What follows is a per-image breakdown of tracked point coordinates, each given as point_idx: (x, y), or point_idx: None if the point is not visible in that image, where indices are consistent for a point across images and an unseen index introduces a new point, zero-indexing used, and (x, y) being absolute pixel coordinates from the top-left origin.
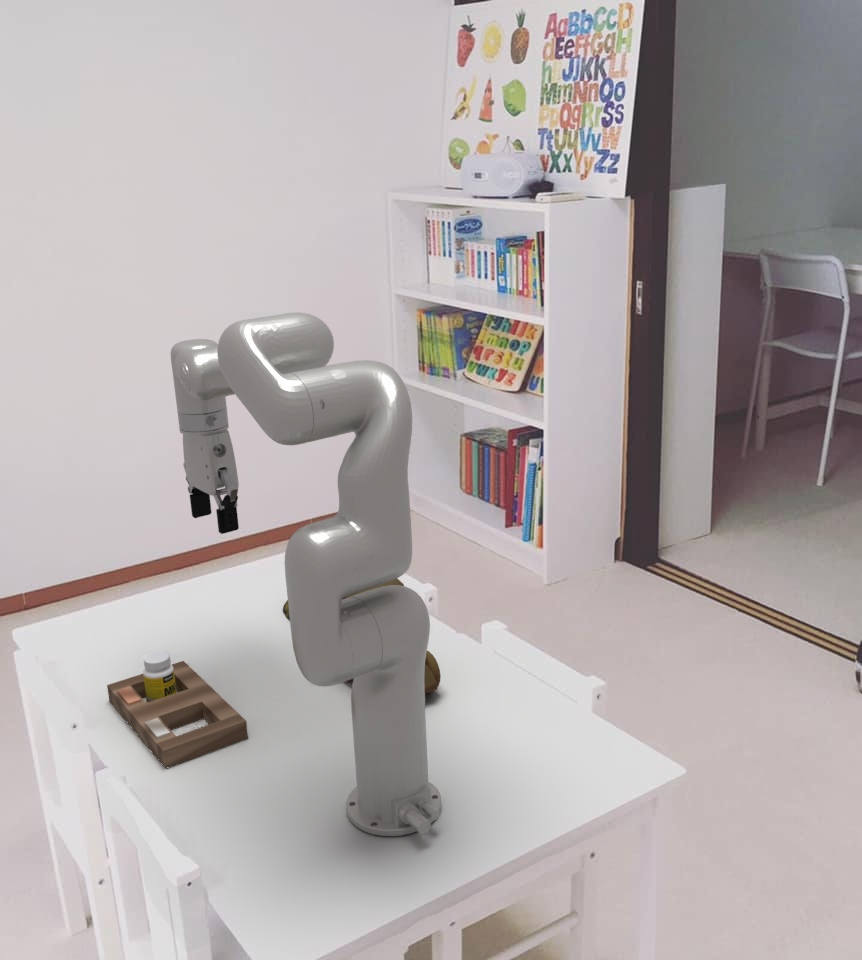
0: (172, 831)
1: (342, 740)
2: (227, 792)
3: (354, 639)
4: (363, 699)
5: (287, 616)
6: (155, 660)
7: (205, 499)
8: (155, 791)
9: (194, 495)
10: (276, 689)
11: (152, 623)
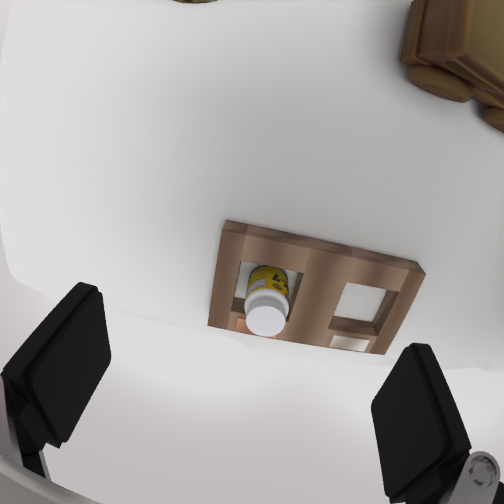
0: None
1: (498, 201)
2: (450, 323)
3: None
4: None
5: (183, 1)
6: (273, 328)
7: (61, 371)
8: (395, 358)
9: (57, 437)
10: (366, 160)
11: (56, 165)
